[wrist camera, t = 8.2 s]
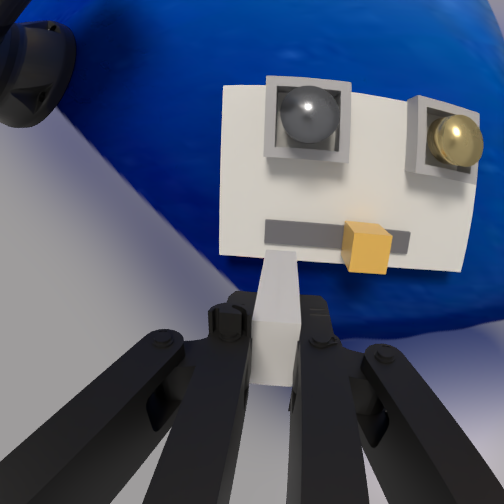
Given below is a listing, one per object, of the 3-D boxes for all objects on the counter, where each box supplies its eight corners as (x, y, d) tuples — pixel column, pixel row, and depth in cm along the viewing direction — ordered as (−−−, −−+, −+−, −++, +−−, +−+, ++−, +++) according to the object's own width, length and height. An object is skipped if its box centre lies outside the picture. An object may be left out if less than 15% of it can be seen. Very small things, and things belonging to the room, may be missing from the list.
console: (226, 245, 30) (212, 264, 25) (230, 90, 25) (216, 76, 20) (448, 261, 27) (472, 281, 22) (464, 121, 23) (493, 118, 17)
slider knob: (340, 254, 25) (348, 271, 21) (344, 220, 24) (354, 232, 20) (373, 257, 25) (385, 274, 21) (378, 223, 24) (392, 236, 20)
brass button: (425, 160, 20) (442, 161, 18) (427, 113, 19) (443, 109, 16) (463, 168, 20) (481, 171, 17) (465, 123, 19) (483, 121, 16)
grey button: (280, 142, 22) (278, 140, 19) (282, 92, 20) (280, 83, 18) (332, 146, 21) (338, 144, 18) (334, 96, 20) (340, 88, 17)
